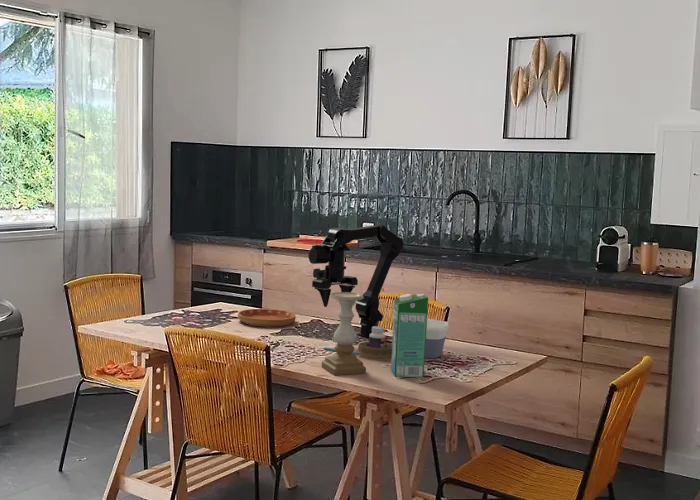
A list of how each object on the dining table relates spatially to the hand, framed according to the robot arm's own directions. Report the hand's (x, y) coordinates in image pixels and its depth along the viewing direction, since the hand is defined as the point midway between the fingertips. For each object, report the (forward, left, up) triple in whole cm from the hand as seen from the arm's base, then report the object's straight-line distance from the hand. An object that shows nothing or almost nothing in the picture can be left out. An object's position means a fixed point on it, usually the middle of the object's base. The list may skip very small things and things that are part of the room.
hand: (334, 305), depth 295 cm
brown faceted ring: (+6, +26, -12) cm, 29 cm away
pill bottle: (+6, +26, -13) cm, 30 cm away
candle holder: (+29, +32, -13) cm, 45 cm away
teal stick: (+12, +16, -12) cm, 24 cm away
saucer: (-1, -37, -13) cm, 39 cm away
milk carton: (+16, +47, -13) cm, 51 cm away
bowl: (-9, +35, -13) cm, 38 cm away
